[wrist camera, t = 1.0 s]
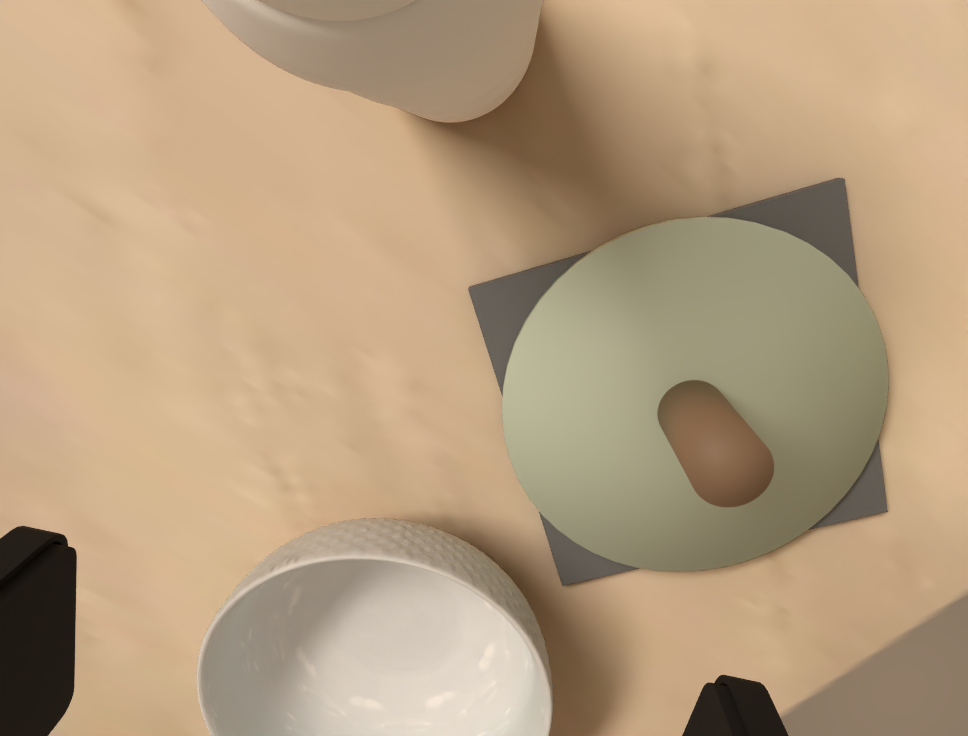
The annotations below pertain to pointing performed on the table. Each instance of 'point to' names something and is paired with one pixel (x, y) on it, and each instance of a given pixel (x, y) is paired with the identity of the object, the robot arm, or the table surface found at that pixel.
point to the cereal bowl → (375, 641)
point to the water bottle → (396, 48)
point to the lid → (694, 394)
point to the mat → (797, 213)
